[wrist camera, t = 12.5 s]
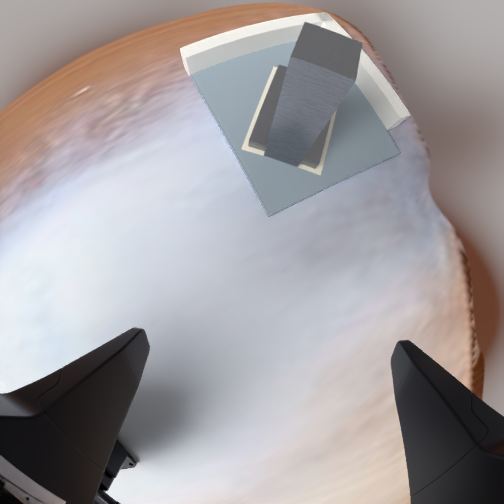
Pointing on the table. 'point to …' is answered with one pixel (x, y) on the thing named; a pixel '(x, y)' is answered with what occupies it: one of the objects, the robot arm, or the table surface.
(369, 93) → the walls
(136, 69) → the table surface
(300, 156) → the bracket
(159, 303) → the table surface
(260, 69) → the mat
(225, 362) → the table surface
